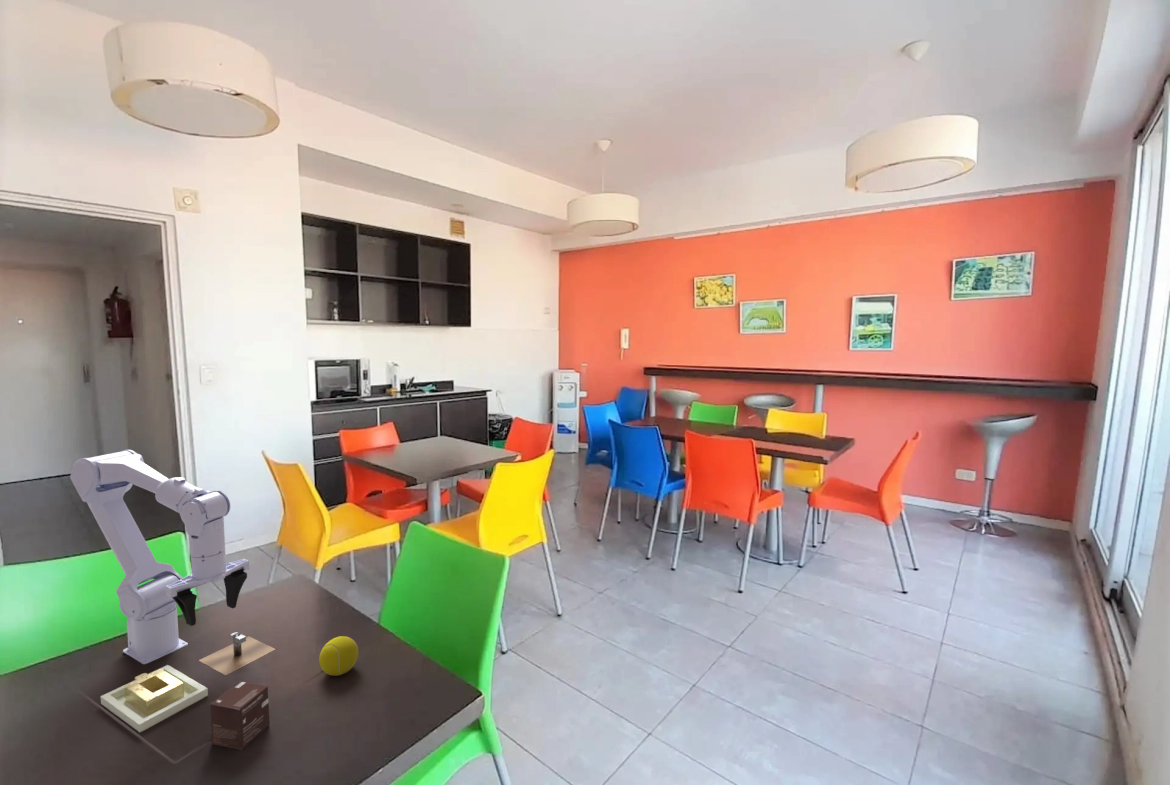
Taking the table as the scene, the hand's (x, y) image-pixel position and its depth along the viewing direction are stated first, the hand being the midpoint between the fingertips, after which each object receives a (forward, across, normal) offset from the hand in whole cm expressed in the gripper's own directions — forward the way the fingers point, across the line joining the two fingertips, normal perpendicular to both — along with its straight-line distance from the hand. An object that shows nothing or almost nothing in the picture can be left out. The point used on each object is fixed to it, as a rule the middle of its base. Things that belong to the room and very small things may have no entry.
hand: (211, 615), depth 106 cm
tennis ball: (+10, +10, -26) cm, 30 cm away
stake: (+10, +3, -3) cm, 11 cm away
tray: (+10, -12, -4) cm, 16 cm away
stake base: (+10, +3, -3) cm, 11 cm away
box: (+10, -9, -26) cm, 29 cm away
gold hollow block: (+9, -12, -4) cm, 16 cm away
